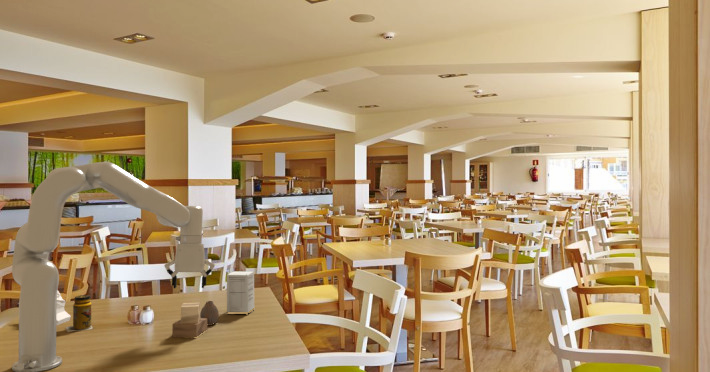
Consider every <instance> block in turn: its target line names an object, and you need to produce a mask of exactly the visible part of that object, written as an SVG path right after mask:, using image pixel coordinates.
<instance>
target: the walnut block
mask: <svg viewBox="0 0 710 372" xmlns="http://www.w3.org/2000/svg"><path fill="white" fill-rule="evenodd" d="M171 329H172V336H171V337H172V338H180V337H197V336H199V335H200V334H201V333H203V332H204V331H206V330H207V331H208V325H207V318H200V320H199V323H189V324H181V319H179V320H177V321H175V322H173V323H172V327H171ZM199 337H200V336H199Z"/></svg>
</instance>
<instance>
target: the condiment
mask: <svg viewBox="0 0 710 372" xmlns="http://www.w3.org/2000/svg"><path fill="white" fill-rule="evenodd" d="M73 300H74V304H73V305H72V308H73V310H72V312H73V313H72V325H71V326H66V327H65V330H66V332H67V333H70V332H76V331H87V330H93V329H94V327H93V326H92V302H91V296H90V295H89V294H81V295H76V296H75V297H74V299H73Z"/></svg>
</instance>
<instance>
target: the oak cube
mask: <svg viewBox="0 0 710 372" xmlns="http://www.w3.org/2000/svg"><path fill="white" fill-rule="evenodd" d="M200 313H201V302H183V303H182V304H181V306H180V320H181V324H189V323H199V320H200Z"/></svg>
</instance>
